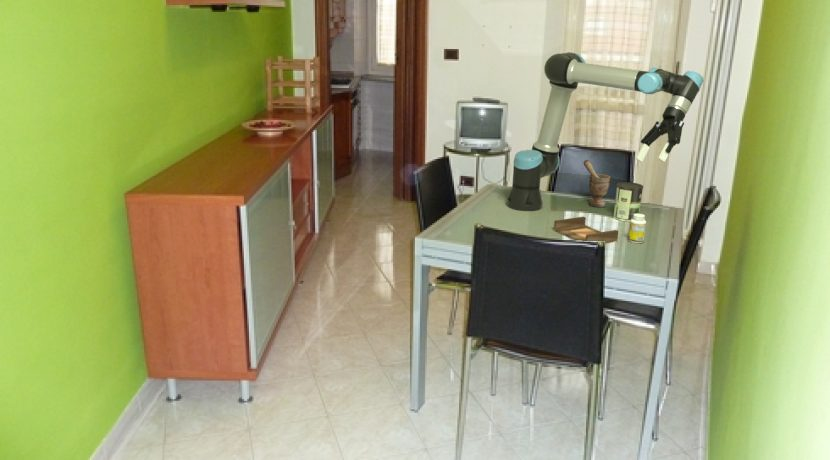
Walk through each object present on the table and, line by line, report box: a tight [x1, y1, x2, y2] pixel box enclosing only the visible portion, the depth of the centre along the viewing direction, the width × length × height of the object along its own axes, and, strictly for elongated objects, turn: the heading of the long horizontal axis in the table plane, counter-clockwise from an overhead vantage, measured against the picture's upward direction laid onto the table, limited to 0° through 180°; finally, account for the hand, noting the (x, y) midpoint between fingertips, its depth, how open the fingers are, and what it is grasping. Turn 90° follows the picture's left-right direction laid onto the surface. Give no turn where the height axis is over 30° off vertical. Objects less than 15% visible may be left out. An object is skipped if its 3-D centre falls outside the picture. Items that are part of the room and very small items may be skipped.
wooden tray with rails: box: [553, 216, 619, 244], centre depth 249 cm, size 20×14×4 cm
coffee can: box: [612, 181, 644, 223], centre depth 271 cm, size 10×10×14 cm
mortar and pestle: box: [583, 159, 611, 208], centre depth 287 cm, size 12×9×20 cm
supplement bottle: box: [627, 213, 647, 244], centre depth 244 cm, size 6×6×10 cm
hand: (649, 160), depth 247 cm, fingers open, 13 cm apart
